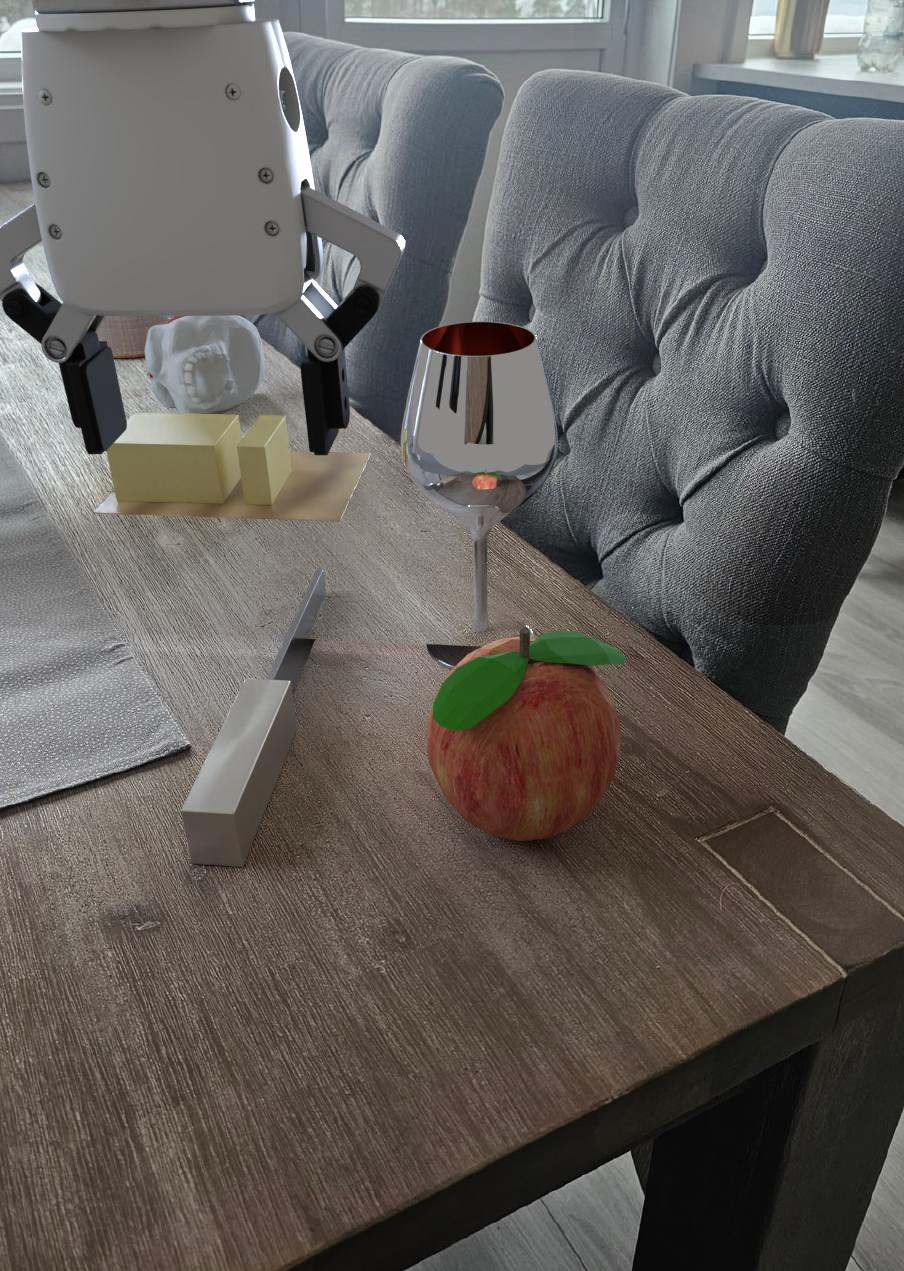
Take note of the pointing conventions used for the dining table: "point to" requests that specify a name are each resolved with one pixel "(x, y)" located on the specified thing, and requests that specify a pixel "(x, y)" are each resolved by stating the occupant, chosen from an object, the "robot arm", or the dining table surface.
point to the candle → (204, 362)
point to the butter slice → (264, 459)
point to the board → (305, 495)
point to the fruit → (526, 734)
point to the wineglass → (478, 436)
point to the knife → (250, 750)
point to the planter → (128, 333)
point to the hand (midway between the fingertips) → (216, 443)
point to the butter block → (176, 458)
